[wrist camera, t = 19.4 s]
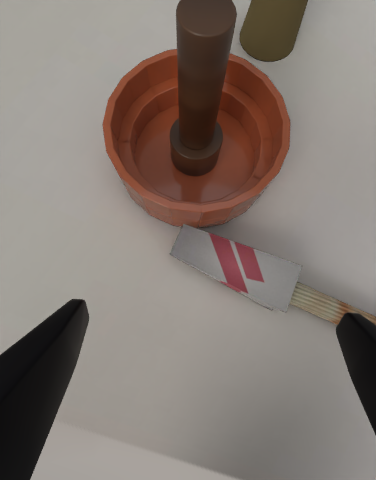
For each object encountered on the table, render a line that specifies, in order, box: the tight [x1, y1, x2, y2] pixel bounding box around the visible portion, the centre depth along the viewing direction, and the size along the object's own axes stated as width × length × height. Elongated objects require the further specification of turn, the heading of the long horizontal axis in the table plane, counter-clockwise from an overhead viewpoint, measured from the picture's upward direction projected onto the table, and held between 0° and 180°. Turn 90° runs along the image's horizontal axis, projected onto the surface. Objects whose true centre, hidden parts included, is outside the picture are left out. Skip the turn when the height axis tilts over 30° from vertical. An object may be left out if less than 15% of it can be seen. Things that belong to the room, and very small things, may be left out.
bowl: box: [103, 49, 290, 228], centre depth 21 cm, size 14×14×5 cm
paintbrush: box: [170, 224, 376, 325], centre depth 20 cm, size 4×3×20 cm
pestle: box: [170, 0, 237, 176], centre depth 17 cm, size 4×4×12 cm
